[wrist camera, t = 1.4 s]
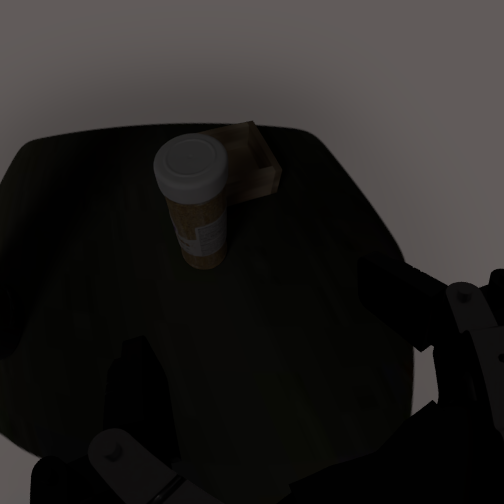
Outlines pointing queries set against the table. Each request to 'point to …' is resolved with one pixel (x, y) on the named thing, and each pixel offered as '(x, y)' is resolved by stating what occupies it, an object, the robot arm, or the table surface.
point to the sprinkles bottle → (196, 195)
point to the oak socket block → (247, 162)
